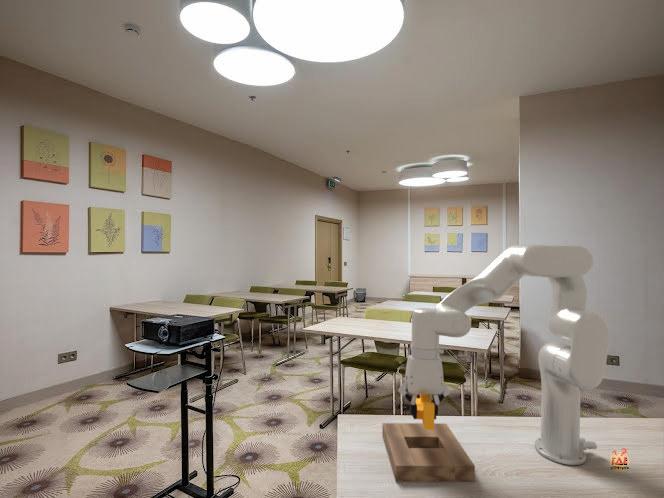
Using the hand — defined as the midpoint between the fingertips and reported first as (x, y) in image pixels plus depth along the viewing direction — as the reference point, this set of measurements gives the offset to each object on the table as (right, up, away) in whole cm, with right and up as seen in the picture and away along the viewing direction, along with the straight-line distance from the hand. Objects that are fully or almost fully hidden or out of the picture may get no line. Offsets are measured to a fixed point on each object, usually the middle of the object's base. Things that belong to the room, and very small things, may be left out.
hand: (423, 416), depth 103 cm
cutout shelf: (0, -11, 0) cm, 11 cm away
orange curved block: (0, -1, 0) cm, 1 cm away
